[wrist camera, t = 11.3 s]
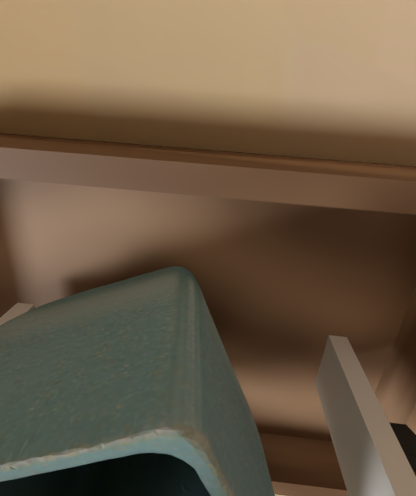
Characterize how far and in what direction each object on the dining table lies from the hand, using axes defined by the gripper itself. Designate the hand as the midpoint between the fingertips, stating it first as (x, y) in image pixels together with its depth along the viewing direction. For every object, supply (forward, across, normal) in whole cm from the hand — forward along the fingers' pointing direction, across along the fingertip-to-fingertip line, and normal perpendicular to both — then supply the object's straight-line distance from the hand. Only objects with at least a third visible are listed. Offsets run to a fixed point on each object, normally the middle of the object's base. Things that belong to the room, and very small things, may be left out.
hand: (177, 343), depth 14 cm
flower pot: (+1, +2, 0) cm, 2 cm away
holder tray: (+2, 0, 0) cm, 2 cm away
